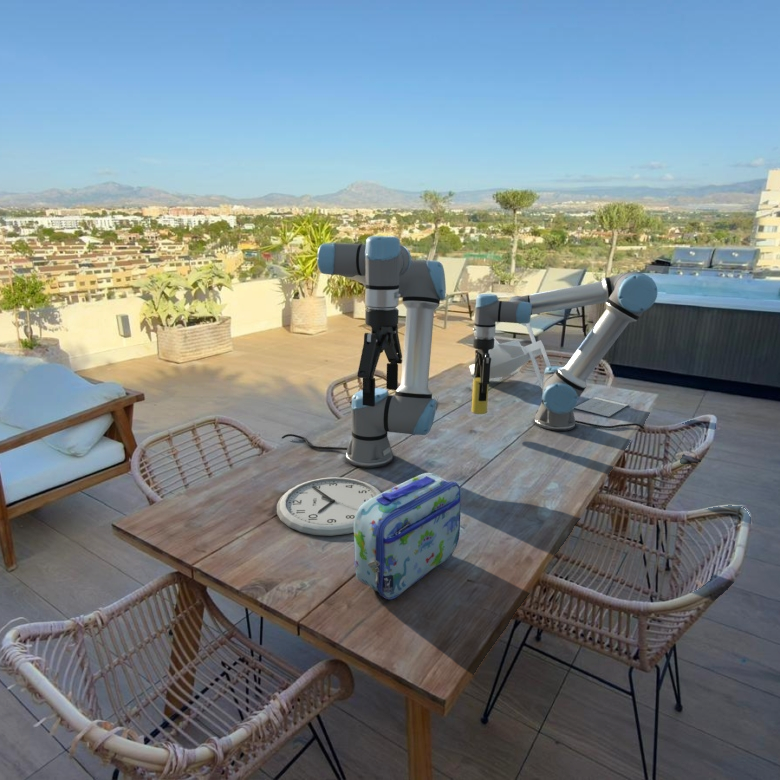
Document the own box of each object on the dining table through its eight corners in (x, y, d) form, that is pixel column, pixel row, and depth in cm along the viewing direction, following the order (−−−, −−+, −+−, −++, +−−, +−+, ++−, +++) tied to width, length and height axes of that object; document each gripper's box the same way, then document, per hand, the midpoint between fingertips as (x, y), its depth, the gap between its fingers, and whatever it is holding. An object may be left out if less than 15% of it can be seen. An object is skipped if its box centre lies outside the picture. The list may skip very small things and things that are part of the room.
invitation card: (608, 416, 214) (573, 407, 224) (608, 416, 214) (573, 408, 224) (628, 404, 229) (594, 396, 238) (628, 405, 229) (594, 397, 238)
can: (469, 409, 201) (471, 377, 197) (483, 408, 202) (485, 377, 198) (474, 414, 195) (476, 382, 191) (489, 413, 196) (491, 381, 193)
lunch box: (382, 612, 103) (384, 519, 97) (347, 586, 110) (346, 498, 104) (464, 557, 121) (469, 475, 114) (429, 538, 128) (432, 460, 122)
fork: (422, 410, 217) (423, 406, 216) (433, 399, 231) (433, 395, 231) (428, 411, 216) (429, 407, 216) (438, 400, 230) (439, 396, 230)
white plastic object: (490, 422, 261) (470, 399, 236) (471, 348, 283) (451, 320, 258) (563, 398, 249) (550, 371, 224) (537, 323, 271) (522, 291, 246)
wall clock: (392, 527, 129) (268, 531, 127) (391, 533, 130) (269, 537, 127) (383, 473, 158) (282, 475, 155) (383, 478, 158) (282, 480, 156)
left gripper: (374, 316, 105) (373, 415, 112) (416, 302, 127) (414, 385, 134) (341, 313, 108) (342, 410, 115) (388, 299, 130) (387, 381, 137)
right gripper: (468, 332, 199) (464, 390, 205) (480, 342, 181) (476, 406, 188) (487, 332, 199) (483, 390, 206) (501, 342, 181) (496, 405, 188)
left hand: (380, 397), depth 124 cm, fingers open, 13 cm apart
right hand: (480, 397), depth 197 cm, fingers closed on can, 6 cm apart
